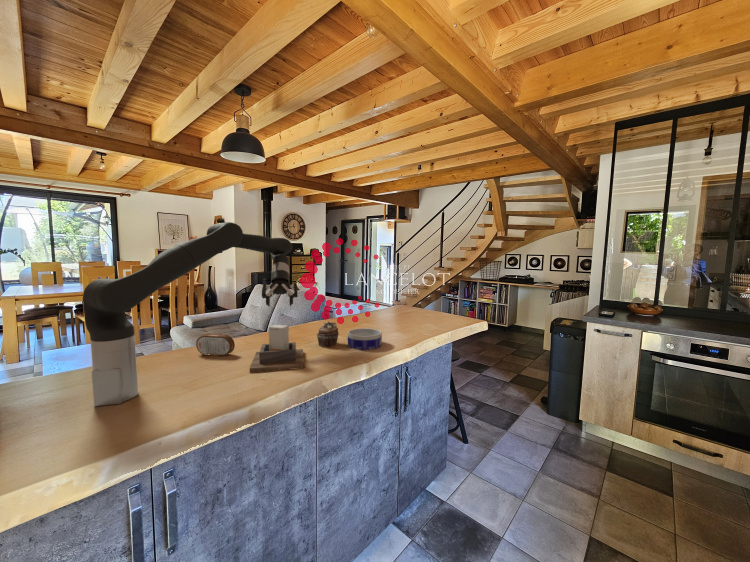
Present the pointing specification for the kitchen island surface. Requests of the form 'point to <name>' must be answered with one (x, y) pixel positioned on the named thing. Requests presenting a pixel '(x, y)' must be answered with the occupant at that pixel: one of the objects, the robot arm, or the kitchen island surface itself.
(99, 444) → the kitchen island surface
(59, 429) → the kitchen island surface
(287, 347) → the skincare box
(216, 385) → the kitchen island surface
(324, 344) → the cupcake
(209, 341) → the tin
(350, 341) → the dog bowl
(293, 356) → the bottle holder
